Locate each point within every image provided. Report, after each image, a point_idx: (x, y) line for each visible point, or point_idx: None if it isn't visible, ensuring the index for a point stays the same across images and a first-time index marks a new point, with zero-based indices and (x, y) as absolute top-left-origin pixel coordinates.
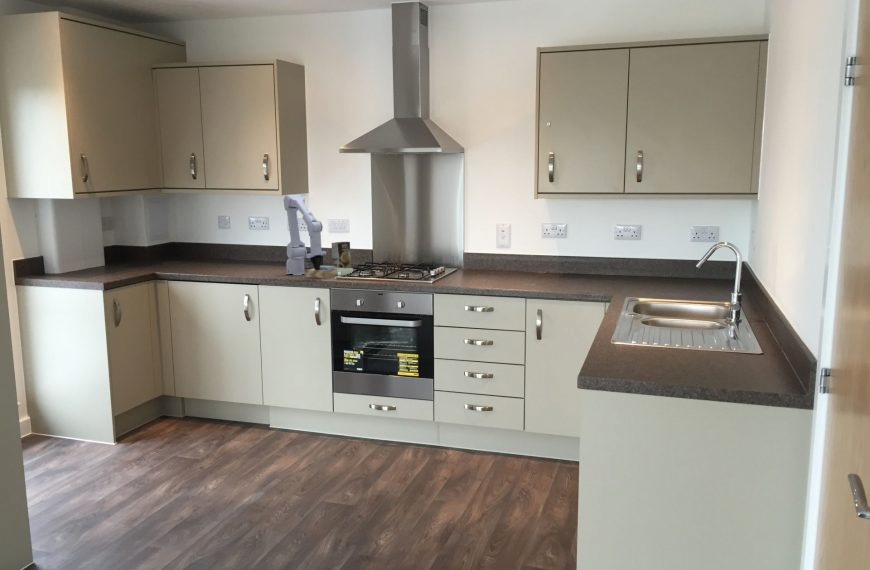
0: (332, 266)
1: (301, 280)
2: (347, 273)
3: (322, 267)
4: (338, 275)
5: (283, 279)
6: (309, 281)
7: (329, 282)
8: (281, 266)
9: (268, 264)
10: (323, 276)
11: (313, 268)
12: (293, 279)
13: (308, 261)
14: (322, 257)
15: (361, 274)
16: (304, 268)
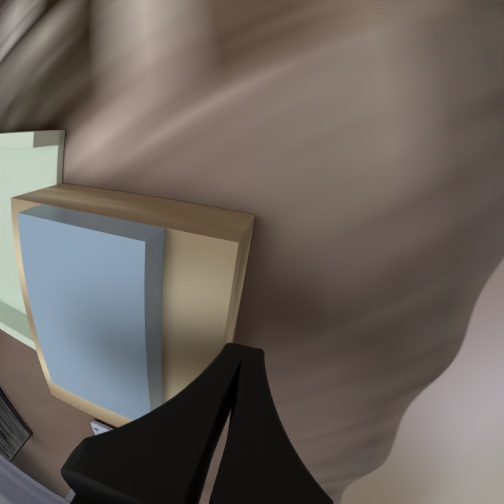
0: (40, 225)
1: (385, 385)
2: (10, 132)
3: (146, 336)
4: (61, 175)
5: (326, 475)
6: (450, 298)
7: (491, 68)
8: (49, 475)
9: (52, 489)
10: (246, 248)
11: (107, 419)
12: (328, 443)
13: (5, 438)
14: (107, 463)
15: (12, 37)
16: (29, 433)
